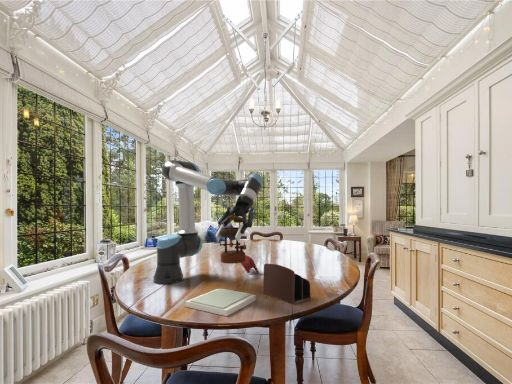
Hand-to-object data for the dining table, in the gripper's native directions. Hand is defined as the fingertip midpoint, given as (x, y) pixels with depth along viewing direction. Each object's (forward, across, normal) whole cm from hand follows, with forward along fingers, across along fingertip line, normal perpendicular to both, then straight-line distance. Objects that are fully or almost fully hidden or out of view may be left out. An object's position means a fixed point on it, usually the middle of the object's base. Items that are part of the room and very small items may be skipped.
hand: (227, 238), depth 124 cm
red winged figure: (-13, +17, -50) cm, 55 cm away
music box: (+5, 0, -10) cm, 11 cm away
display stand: (+21, 0, -14) cm, 26 cm away
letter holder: (+7, -19, -30) cm, 36 cm away
